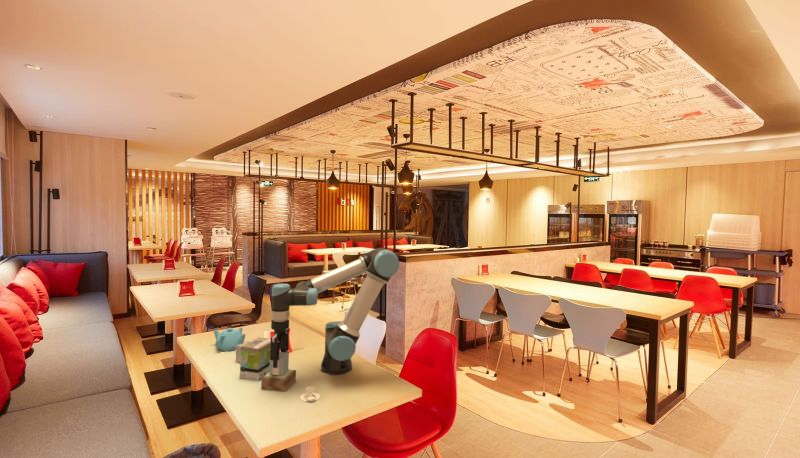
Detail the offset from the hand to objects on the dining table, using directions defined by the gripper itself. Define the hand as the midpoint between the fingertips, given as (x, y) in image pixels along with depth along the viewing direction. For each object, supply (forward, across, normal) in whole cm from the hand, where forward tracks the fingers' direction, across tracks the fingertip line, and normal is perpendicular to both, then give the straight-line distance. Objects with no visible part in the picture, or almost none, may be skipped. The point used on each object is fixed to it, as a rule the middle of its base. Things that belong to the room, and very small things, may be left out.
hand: (279, 371), depth 176 cm
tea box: (+6, +10, +15) cm, 19 cm away
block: (0, 0, 0) cm, 0 cm away
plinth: (+6, 0, 0) cm, 6 cm away
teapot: (+6, +39, +47) cm, 61 cm away
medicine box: (+6, +23, +29) cm, 38 cm away
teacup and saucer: (+7, -10, -16) cm, 20 cm away
